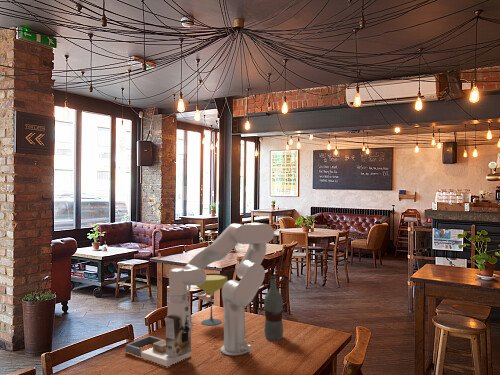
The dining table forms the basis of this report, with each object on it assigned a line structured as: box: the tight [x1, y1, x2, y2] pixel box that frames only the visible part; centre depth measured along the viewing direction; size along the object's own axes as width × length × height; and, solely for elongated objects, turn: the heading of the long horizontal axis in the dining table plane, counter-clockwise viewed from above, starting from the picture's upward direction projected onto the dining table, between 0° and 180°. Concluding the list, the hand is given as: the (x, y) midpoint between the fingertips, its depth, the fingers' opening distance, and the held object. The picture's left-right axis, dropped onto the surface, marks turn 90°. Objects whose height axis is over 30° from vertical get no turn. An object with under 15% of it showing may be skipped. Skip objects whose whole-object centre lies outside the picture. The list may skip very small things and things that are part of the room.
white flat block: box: [141, 347, 192, 367], centre depth 184 cm, size 16×14×3 cm
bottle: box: [263, 275, 284, 341], centre depth 208 cm, size 9×9×30 cm
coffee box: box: [165, 315, 192, 358], centre depth 180 cm, size 9×6×16 cm
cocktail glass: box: [196, 273, 229, 326], centre depth 232 cm, size 18×18×25 cm
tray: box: [125, 335, 164, 357], centre depth 192 cm, size 10×14×4 cm
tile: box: [153, 339, 166, 353], centre depth 185 cm, size 6×6×3 cm
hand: (178, 339), depth 180 cm, fingers closed on coffee box, 6 cm apart
